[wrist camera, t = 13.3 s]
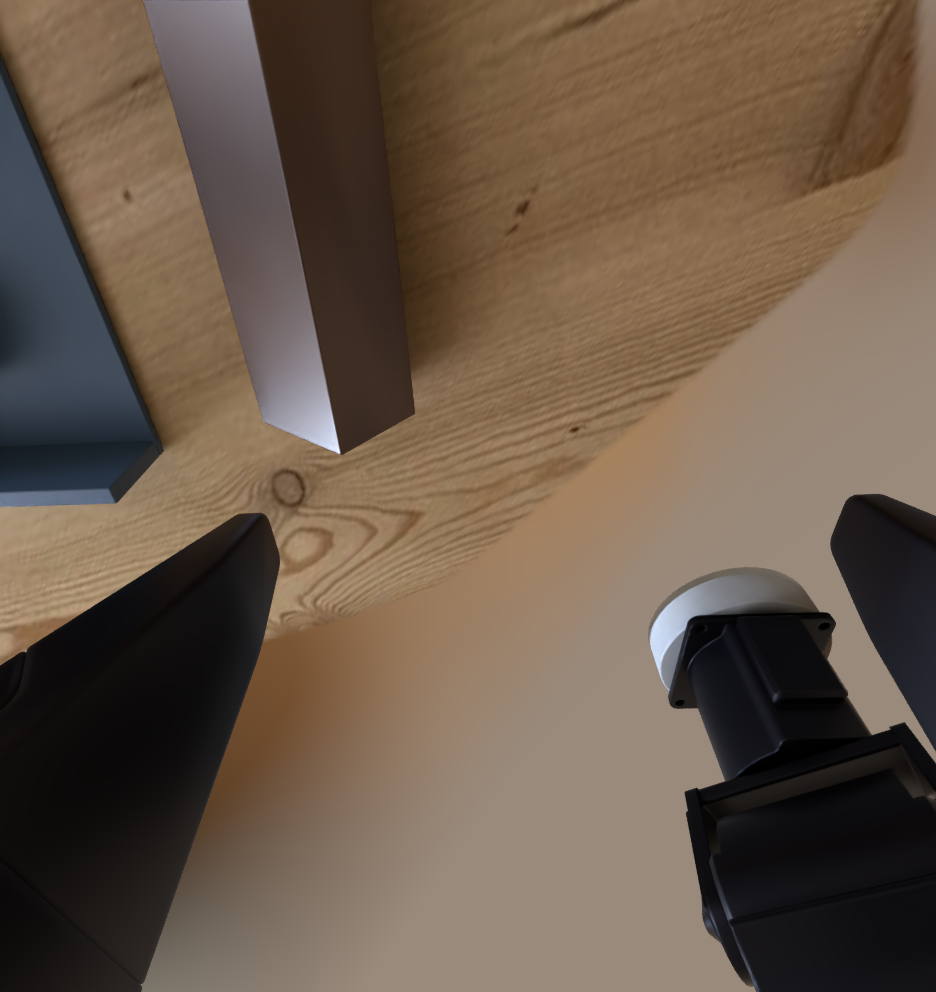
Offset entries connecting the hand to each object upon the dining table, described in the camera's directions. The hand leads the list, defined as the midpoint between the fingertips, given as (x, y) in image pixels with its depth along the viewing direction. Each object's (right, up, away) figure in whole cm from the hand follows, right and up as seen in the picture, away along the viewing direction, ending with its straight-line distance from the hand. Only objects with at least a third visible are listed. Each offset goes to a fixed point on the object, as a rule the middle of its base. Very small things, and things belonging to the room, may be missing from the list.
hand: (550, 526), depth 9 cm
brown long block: (-4, +9, +6) cm, 12 cm away
